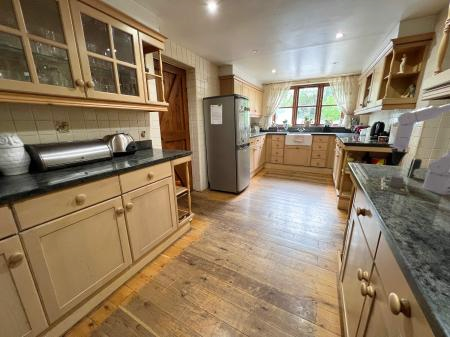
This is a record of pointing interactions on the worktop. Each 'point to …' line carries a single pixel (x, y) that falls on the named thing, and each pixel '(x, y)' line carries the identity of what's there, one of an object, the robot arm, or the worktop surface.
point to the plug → (396, 182)
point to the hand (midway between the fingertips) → (395, 163)
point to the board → (385, 185)
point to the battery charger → (414, 167)
